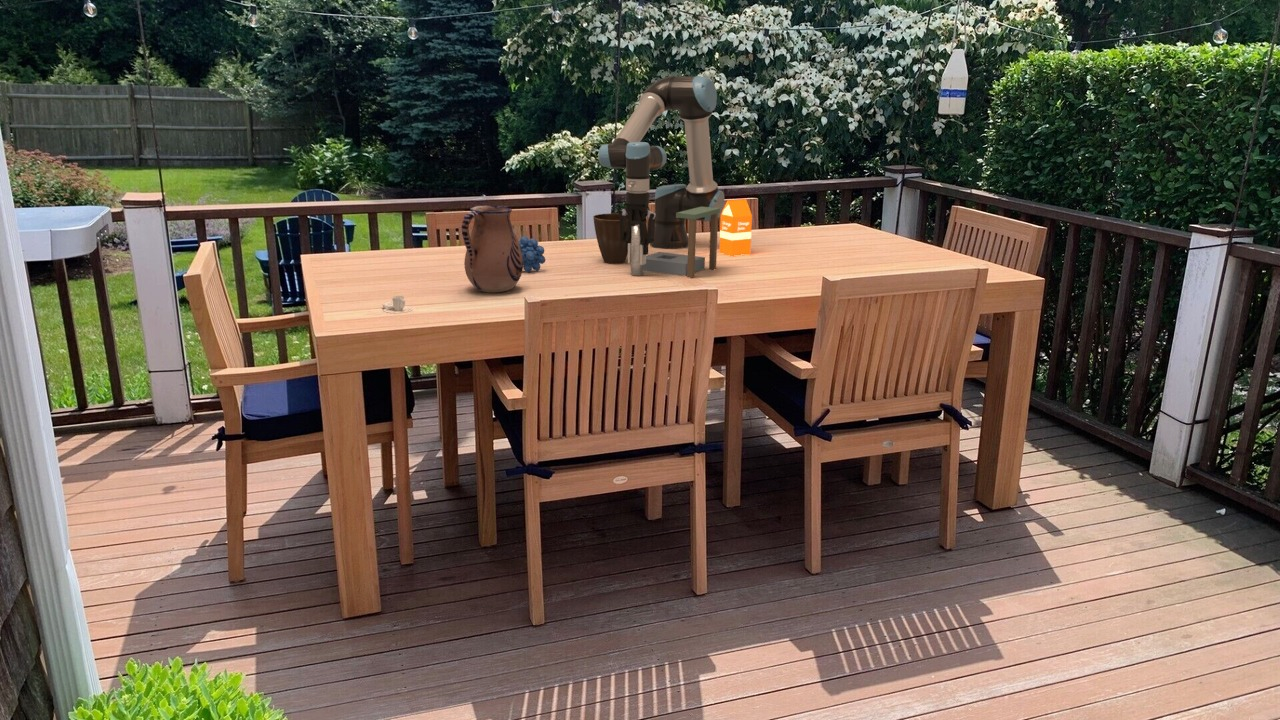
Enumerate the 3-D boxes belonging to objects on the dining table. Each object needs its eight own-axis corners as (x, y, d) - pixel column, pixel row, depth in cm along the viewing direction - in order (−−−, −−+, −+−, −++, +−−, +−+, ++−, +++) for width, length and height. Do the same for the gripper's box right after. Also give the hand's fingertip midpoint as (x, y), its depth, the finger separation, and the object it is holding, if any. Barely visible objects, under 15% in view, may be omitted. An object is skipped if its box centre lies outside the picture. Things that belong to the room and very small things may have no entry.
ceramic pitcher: (534, 286, 286) (532, 205, 278) (497, 301, 267) (494, 214, 260) (486, 281, 292) (482, 202, 285) (447, 295, 274) (442, 210, 267)
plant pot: (643, 264, 322) (643, 218, 317) (604, 267, 316) (604, 220, 311) (624, 256, 335) (624, 212, 330) (586, 259, 328) (586, 214, 323)
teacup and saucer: (379, 309, 259) (378, 295, 257) (407, 305, 263) (406, 291, 261) (388, 316, 251) (387, 301, 250) (417, 312, 255) (416, 298, 254)
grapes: (514, 275, 301) (513, 239, 298) (509, 271, 307) (508, 235, 304) (548, 273, 305) (548, 237, 302) (543, 269, 311) (543, 234, 308)
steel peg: (628, 274, 303) (628, 226, 299) (634, 272, 307) (635, 224, 302) (638, 275, 302) (639, 227, 297) (645, 273, 305) (645, 225, 300)
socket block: (638, 269, 313) (638, 258, 311) (658, 263, 324) (659, 251, 323) (685, 275, 304) (685, 264, 303) (704, 268, 315) (705, 257, 314)
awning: (674, 275, 304) (676, 212, 298) (699, 266, 319) (701, 206, 312) (693, 278, 300) (695, 214, 294) (717, 269, 315) (720, 208, 309)
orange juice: (750, 254, 342) (753, 200, 336) (731, 256, 337) (733, 201, 331) (737, 251, 348) (740, 197, 342) (718, 253, 344) (720, 199, 338)
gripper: (608, 190, 297) (608, 262, 304) (654, 194, 289) (653, 268, 296) (621, 188, 303) (620, 258, 310) (666, 192, 295) (665, 264, 302)
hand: (636, 263), depth 303 cm, fingers closed on steel peg, 4 cm apart
